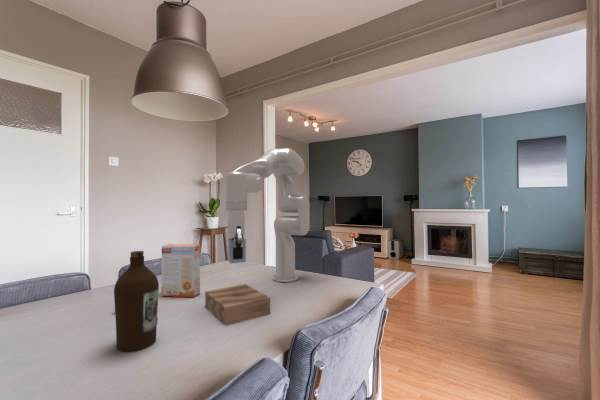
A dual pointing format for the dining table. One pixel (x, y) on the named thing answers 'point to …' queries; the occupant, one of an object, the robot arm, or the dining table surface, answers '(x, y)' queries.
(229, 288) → the riser block
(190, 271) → the cracker box
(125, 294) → the olive oil
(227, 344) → the dining table surface
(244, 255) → the blue block
